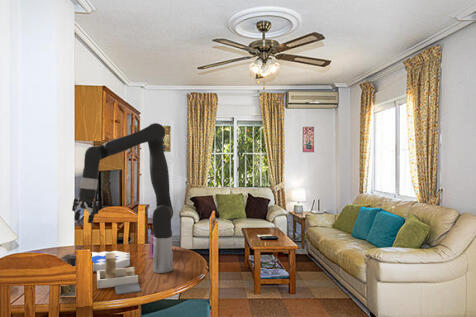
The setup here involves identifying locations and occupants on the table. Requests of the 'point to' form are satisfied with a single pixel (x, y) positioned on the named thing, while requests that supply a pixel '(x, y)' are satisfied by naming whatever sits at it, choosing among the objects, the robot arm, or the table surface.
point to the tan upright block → (110, 265)
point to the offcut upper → (129, 271)
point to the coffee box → (68, 289)
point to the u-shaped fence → (115, 279)
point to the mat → (127, 288)
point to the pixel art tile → (99, 260)
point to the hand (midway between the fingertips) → (83, 221)
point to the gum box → (151, 245)
